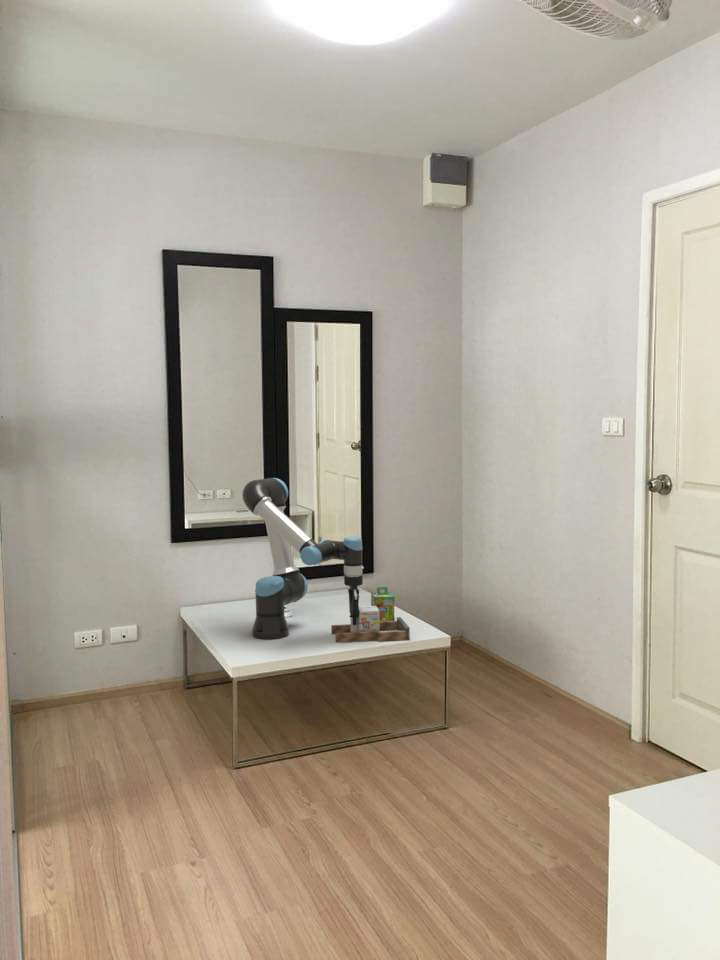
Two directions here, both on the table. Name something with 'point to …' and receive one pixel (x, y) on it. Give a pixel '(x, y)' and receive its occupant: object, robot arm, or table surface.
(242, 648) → the table surface
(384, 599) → the chalk box
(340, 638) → the brown low open piece
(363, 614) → the ink box
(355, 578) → the robot arm
